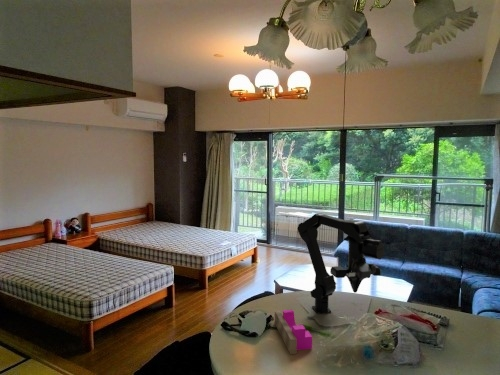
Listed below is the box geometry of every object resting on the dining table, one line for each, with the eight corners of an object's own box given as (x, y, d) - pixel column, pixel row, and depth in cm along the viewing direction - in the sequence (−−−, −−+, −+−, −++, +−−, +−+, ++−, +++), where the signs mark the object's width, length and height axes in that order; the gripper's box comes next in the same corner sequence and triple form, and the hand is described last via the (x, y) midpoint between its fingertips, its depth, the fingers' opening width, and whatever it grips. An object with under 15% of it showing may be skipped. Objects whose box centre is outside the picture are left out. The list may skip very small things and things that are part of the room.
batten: (274, 322, 134) (274, 310, 134) (279, 322, 135) (279, 310, 134) (290, 354, 113) (290, 339, 112) (296, 353, 113) (296, 339, 113)
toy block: (311, 349, 116) (312, 328, 116) (294, 350, 115) (294, 329, 115) (298, 327, 131) (298, 309, 130) (282, 329, 130) (283, 310, 129)
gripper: (342, 260, 122) (341, 302, 123) (389, 258, 125) (388, 298, 126) (330, 252, 133) (329, 290, 134) (373, 250, 136) (372, 287, 137)
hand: (354, 292), depth 133 cm, fingers closed
